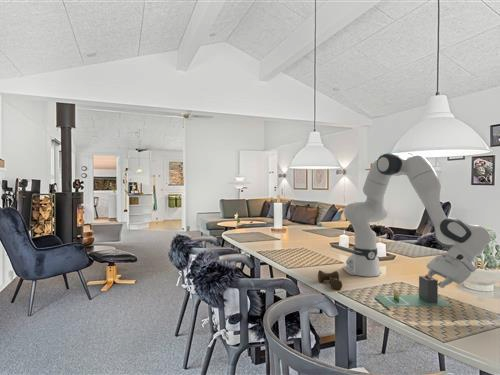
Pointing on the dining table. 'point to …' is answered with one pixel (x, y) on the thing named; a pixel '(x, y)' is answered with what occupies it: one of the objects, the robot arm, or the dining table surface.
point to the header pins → (396, 295)
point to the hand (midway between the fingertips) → (433, 283)
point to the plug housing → (428, 289)
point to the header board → (407, 301)
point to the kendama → (333, 278)
